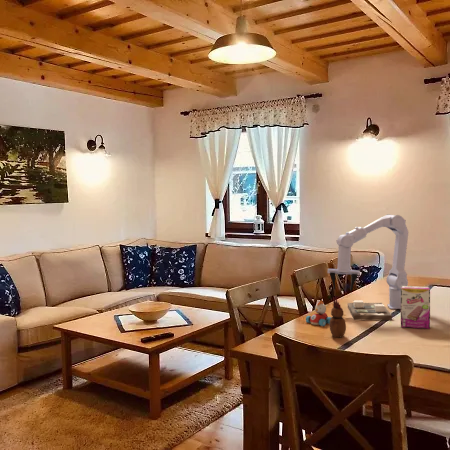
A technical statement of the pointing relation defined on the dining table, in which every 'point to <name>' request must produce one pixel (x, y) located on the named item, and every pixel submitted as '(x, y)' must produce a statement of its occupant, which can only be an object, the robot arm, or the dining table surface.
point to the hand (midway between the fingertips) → (342, 289)
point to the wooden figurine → (337, 320)
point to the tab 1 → (358, 304)
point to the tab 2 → (379, 307)
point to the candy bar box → (415, 307)
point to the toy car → (319, 315)
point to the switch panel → (368, 312)
